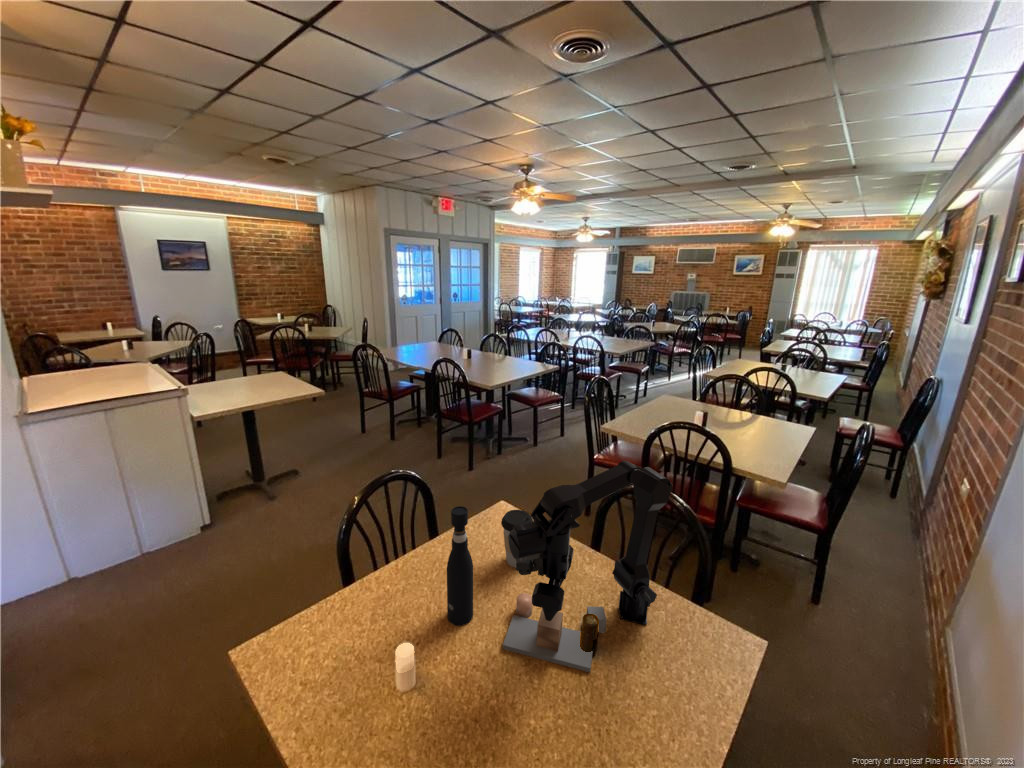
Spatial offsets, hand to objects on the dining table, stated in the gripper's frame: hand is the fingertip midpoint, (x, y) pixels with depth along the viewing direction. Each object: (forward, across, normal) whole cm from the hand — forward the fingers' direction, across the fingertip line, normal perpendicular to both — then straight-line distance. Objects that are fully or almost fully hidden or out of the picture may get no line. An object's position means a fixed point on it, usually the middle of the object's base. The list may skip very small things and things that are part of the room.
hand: (552, 604), depth 95 cm
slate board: (+11, 0, 0) cm, 11 cm away
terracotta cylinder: (+11, -7, -8) cm, 15 cm away
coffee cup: (+11, -25, -15) cm, 31 cm away
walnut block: (+10, 0, 0) cm, 10 cm away
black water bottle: (+11, -1, -23) cm, 26 cm away
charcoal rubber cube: (+11, -8, +10) cm, 17 cm away
